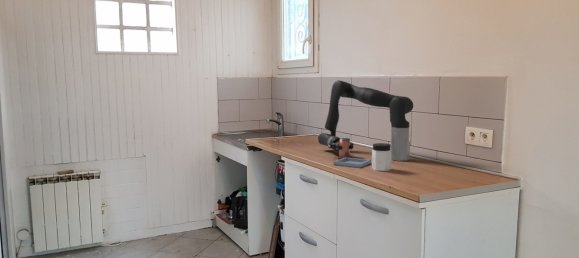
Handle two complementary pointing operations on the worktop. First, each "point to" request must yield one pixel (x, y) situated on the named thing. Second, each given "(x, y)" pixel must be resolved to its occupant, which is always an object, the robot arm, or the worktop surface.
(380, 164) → the jar
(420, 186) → the worktop surface
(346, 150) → the canister
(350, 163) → the tray
